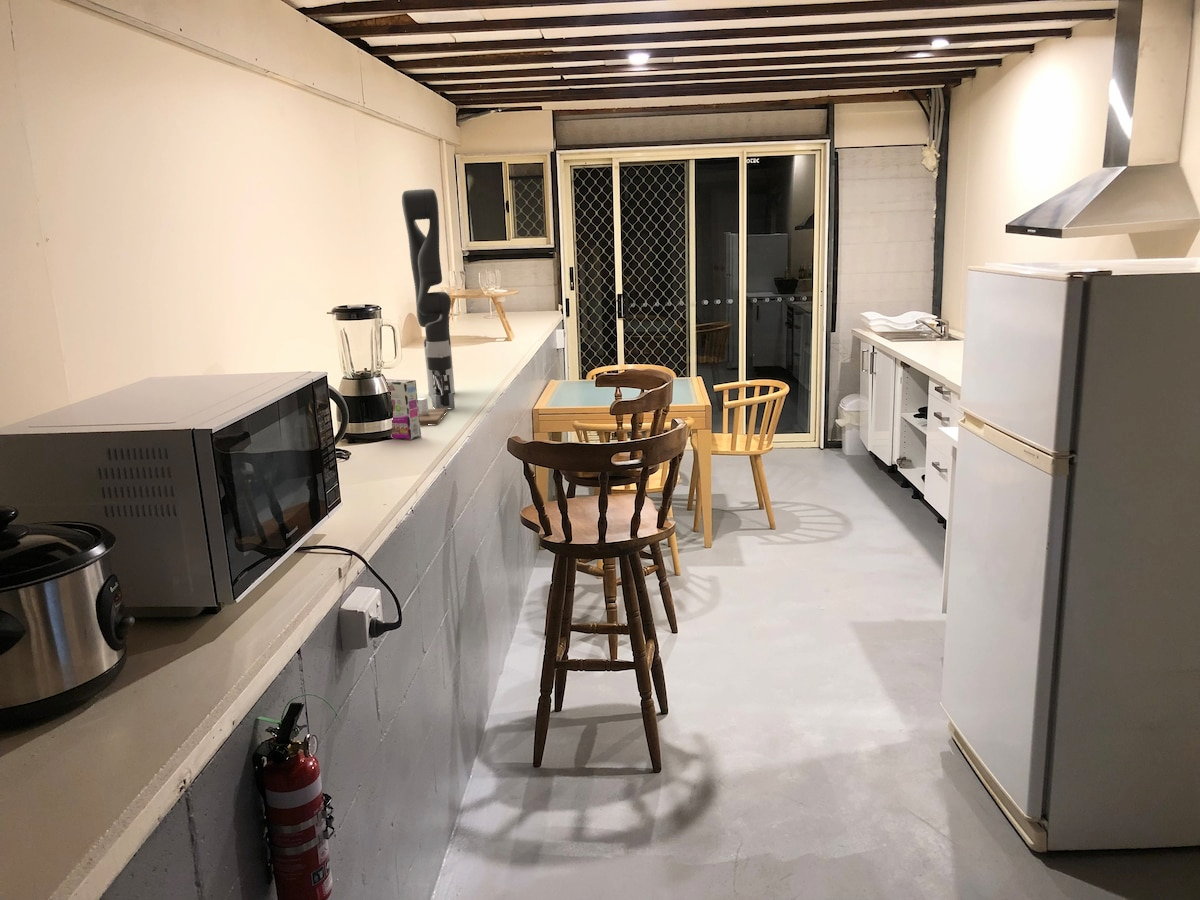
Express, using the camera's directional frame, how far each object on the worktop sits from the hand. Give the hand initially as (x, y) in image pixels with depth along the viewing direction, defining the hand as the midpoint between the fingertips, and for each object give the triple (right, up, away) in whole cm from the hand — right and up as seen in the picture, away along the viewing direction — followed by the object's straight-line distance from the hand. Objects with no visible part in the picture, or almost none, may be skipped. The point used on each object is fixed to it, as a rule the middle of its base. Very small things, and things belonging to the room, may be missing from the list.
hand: (443, 404), depth 295 cm
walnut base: (-3, -6, -16) cm, 17 cm away
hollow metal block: (0, -1, +1) cm, 2 cm away
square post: (-4, -4, -16) cm, 17 cm away
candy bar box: (-5, -12, -39) cm, 41 cm away
